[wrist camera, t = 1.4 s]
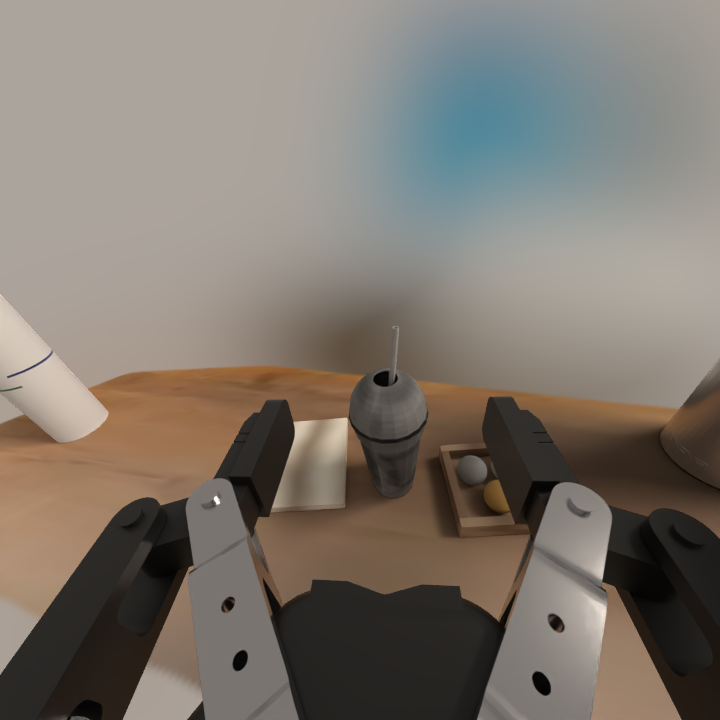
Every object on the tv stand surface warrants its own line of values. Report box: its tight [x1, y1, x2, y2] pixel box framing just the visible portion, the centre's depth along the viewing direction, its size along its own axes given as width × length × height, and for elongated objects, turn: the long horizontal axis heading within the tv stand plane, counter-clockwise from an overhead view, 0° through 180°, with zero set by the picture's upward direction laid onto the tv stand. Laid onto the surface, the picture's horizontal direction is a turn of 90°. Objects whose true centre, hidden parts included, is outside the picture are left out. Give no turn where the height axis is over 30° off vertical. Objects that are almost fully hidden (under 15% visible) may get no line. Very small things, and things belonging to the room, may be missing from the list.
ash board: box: [270, 418, 348, 513], centre depth 36 cm, size 9×12×1 cm
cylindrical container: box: [0, 294, 108, 443], centre depth 39 cm, size 7×7×25 cm
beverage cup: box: [349, 326, 428, 498], centre depth 28 cm, size 7×7×20 cm
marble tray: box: [439, 442, 531, 537], centre depth 30 cm, size 9×9×4 cm
